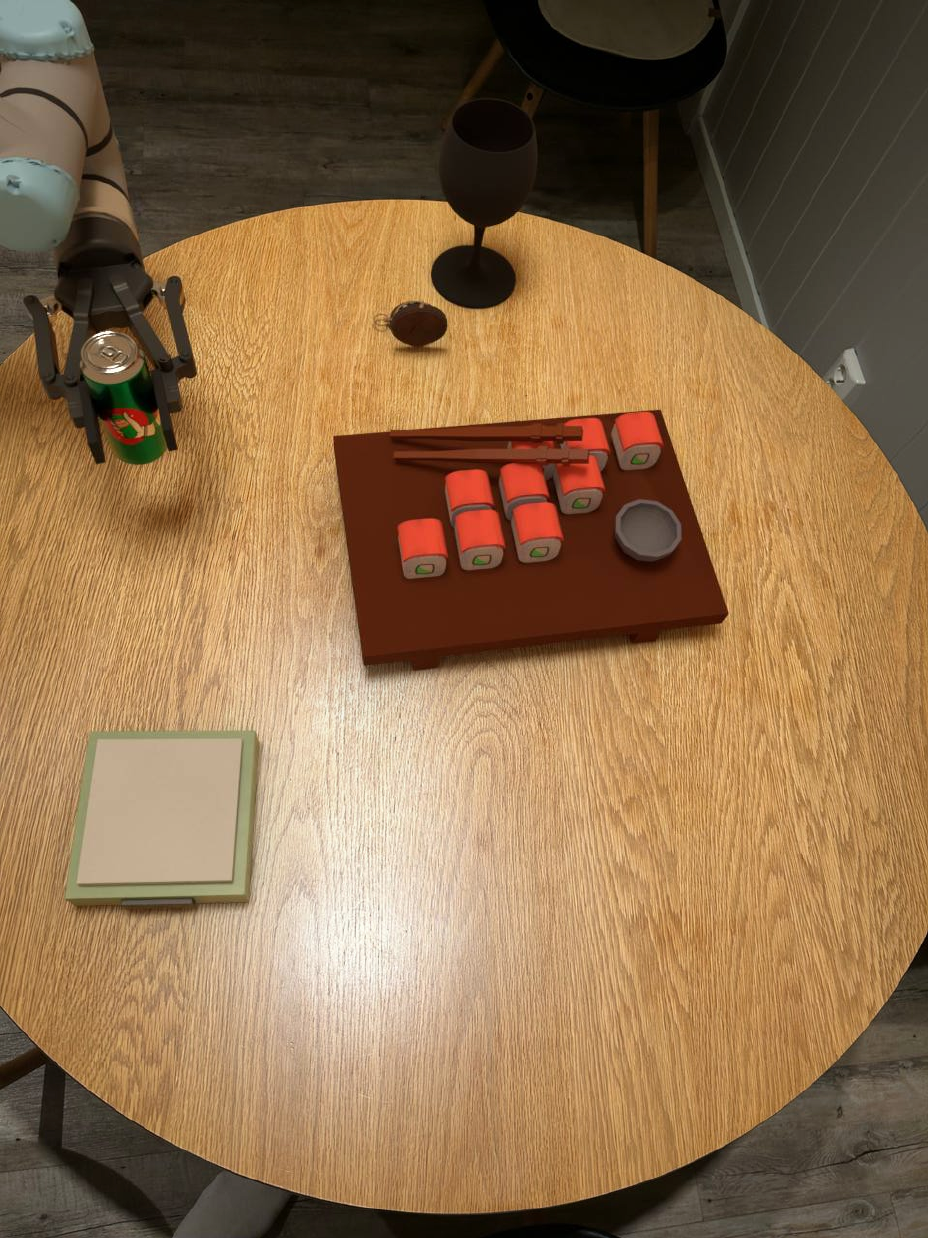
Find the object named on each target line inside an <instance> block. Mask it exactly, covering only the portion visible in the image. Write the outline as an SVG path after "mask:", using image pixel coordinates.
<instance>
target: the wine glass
mask: <svg viewBox="0 0 928 1238" xmlns="http://www.w3.org/2000/svg"><path fill="white" fill-rule="evenodd" d="M537 140H538V139H537V131H536V126H535V123H534V121H533V119H532V117H531V116H530V115H529V113H528V112H527V111H525V110H524V109H523V108H521V106H518V105H517V104H515V103H513V102H510V101H508V100H504V99H500V98H494V97H493V98H491V97H480V98H474V99H471V100H468V101H465V102H464V103H462V104H460V105H459V106H458V107H457V108H456V109H454V111H453V113H452V115H451V117H450V118H449V122H448V124H447V127H446V129H445V132H444V135H443V138H442V142H441V146H440V150H439V157H438V177H439V183H440V187H441V192H442V194H443V196H444V198H445V200H446V202H447V204H448V205H449V207H450V208H451V210H452V211H453V212H454V213H455V214H456V215H457V216H458V217H459V218H461V220H463V221H465V222H466V223H468V224H470V225H472V226H473V244H462V245H455V246H453V247H450V248H448V249H446V250H444V251H443V252H441V253H440V254H439V255H438V256H437V257H436V258H435V260H434V261H433V263H432V265H431V270H430V278H431V283H432V285H433V287H434V288H435V290H436V292H437V293H438V294H439V295H440V296H442V297H443V298H444V299H445V300H446V301H448V302H450V303H452V304H454V305H456V306H458V307H463V308H467V309H478V310H479V309H487V308H492V307H495V306H498V305H500V304H501V303H504V302H505V301H506V300H508V299H509V297H510V296H511V295H512V294H513V292H514V290H515V288H516V282H517V276H516V272H515V269H514V267H513V265H512V264H511V262H510V261H509V260H508V259H507V258H506V257H505V256H504V255H503V254H501V253H500V252H499V251H496V250H494V249H492V248H490V247H486V246H483V240H484V235H485V231H486V229H487V228H491V227H495V226H498V225H500V224H503V223H505V222H507V221H508V220H510V219H512V218H513V217H515V215H516V214H517V213H518V212H520V210H522V208H523V206H524V205H525V203H526V202H527V200H528V199H529V197H530V195H531V193H532V190H533V187H534V184H535V181H536V176H537V169H538V156H539V155H538V141H537Z"/></svg>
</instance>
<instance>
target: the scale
mask: <svg viewBox="0 0 928 1238" xmlns="http://www.w3.org/2000/svg"><path fill="white" fill-rule="evenodd" d="M259 747H260V741H259V738H258V734H257V731H256V730H150V731H149V730H130V731H129V730H126V731H125V730H123V731H122V730H120V731H119V730H113V731H111V730H110V731H107V730H106V731H104V730H103V731H102V730H101V731H99V730H98V731H89V732H88V739H87V746H86V753H85V758H84V766H83V770H82V771H83V772H82V778H81V786H80V792H79V799H78V804H77V812H76V818H75V825H74V832H73V839H72V845H71V851H70V858H69V864H68V870H67V877H66V885H65V892H64V897H63V899H64V900H65V901H67V902H68V903H70V904H71V905H73V906H74V907H80V906H81V907H83V906H84V907H85V906H87V907H88V906H120V907H122V908H123V909H124V910H155V909H157V910H158V909H159V910H160V909H194V908H196V905H197V904H214V903H215V902H217V903H218V902H221V903H249V902H250V891H251V875H252V862H253V861H252V859H253V843H254V828H255V813H256V812H255V811H256V796H257V781H258V767H259V766H258V765H259V752H260V751H259V749H260V748H259ZM215 904H216V903H215Z"/></svg>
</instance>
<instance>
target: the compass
mask: <svg viewBox="0 0 928 1238" xmlns="http://www.w3.org/2000/svg"><path fill="white" fill-rule="evenodd" d="M378 316H384V323H383V324H379V323H377V322H376V318H377V317H378ZM372 319H373V320H372V321H373V323H374V324H375V325H377V326H379V327H385V326H387V325H389V328H390V330H391V332H392V333H393V335H394V337H396V338H397V339H398V340H399V341H400V342H402V343H406V344H409V345H414V346H423V345H424V346H425V345H429V344H432V343H435V342H437V341H438V340H440V339H442V338H443V337H444V336H445V334H446V333H447V331H448V319H447V316H446V313H444V311H443V310H441V309H440V308H438V307H437V306H434V305H431V304H430V303H427V302H425V301H424V300H423V299H421V300H408V301H405V302H402V303H399V304H398V305H396V306H395V307H394V309H393V310H392V311H391V313H390V316H388V315H387V314H385V313H377V314H375V315H374V316H373V318H372Z"/></svg>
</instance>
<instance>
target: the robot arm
mask: <svg viewBox="0 0 928 1238" xmlns="http://www.w3.org/2000/svg"><path fill="white" fill-rule="evenodd" d="M94 51H95V46H94V44H93V43H92V40H91V38H90V35H89V32H88V29H87V26H86V23H85V20H84V17H83V15H82V12H81V11H80V9H79V8H78V7H77V6H76V4H75V3H74V2H72V1H71V0H0V69H1V71H0V246H2V247H3V248H6V249H9V250H12V251H16V252H19V253H27V254H38V253H44V252H48V251H51V250H52V251H53V258H54V263H55V271H56V276H57V277H56V278H57V282H56V283H57V284H56V285H55V287H54V288H53V294H51V295H49V296H46V297H44V298H41V299H39V298H38V296H36V295H34V294H29V295H26V296H25V297H24V298H23V300H22V302H23V305H24V307H25V309H26V312H27V314H28V316H29V319H30V321H31V323H32V325H33V335H34V343H35V344H34V345H35V352H36V353H35V354H36V362H37V370H38V377H39V380H40V382H41V384H42V387H43V389H44V391H45V393H46V395H47V398H48V399H49V400H51V401H57V400H60V399H62V398H64V399H66V403H67V404H66V405H67V409H68V415H69V418H70V420H71V422H72V424H73V426H74V427H75V429H77V430H79V429H85V430H84V431H85V436H86V442H87V445H88V448H89V451H90V453H91V455H92V458H93V460H94V462H95V464H96V465H100V464H106V463H107V461H106V456H105V450H104V443H103V438H102V437H103V436H102V432H101V426H100V419H99V417H98V414H97V411H96V409H95V406H94V404H93V401H92V399H91V396H90V393H89V391H88V388H87V386H86V383H85V381H84V378H83V375H82V373H81V370H80V366H79V361H80V357H81V349H82V346H83V345H84V343H85V342H86V341H87V340H88V339H89V338H90V337H92V336H94V335H96V334H98V333H101V332H106V331H109V330H110V329H126V328H128V330H129V331H130V333H131V335H132V336H133V338H134V339H136V341H137V343H138V345H139V346H140V347H141V349H142V350H143V352H144V354H145V357H147V359H148V361H149V363H150V364H151V366H152V367H153V369H149V371H150V375H151V378H152V382H153V387H154V392H155V397H156V401H157V406H158V411H159V416H160V421H161V426H162V431H163V434H164V438H165V441H166V444H167V450H168V452H174V451H178V449H179V448H178V444H177V439H176V435H175V429H174V425H173V420H172V415H171V414H177V413H181V412H182V411H183V408H184V405H183V400H182V397H181V396H182V395H181V392H180V387H179V383H180V381H182V380H183V379H185V378H186V379H189V380H190V379H194V378H196V377H197V375H198V369H197V365H196V362H195V356H194V352H193V349H192V345H191V341H190V337H189V332H188V329H187V325H186V322H185V317H184V311H185V306H186V296H185V291H184V286H183V282H182V278H181V277H180V276H179V275H171V276H169V277H167V280H166V281H157V280H155V281H154V280H153V278H152V276H151V275H150V274H148V272H146V269H145V268H146V267H145V263H144V259H143V254H142V249H141V244H140V239H139V235H138V231H137V225H136V221H135V216H134V212H133V211H134V210H133V207H132V204H131V201H130V197H129V192H128V185H127V179H126V173H125V164H124V160H123V159H124V158H123V154H122V150H121V146H120V143H119V141H118V139H117V137H116V135H115V130H114V127H113V124H112V121H111V117H110V114H109V109H108V105H107V101H106V97H105V93H104V89H103V85H102V80H101V78H100V74H99V68H98V65H97V61H96V57H95V53H94ZM154 298H156V299H158V302H159V305H160V306H162V308H163V307H164V310H165V311H166V312H167V314H168V320H169V323H170V327H171V330H172V336H173V339H174V343H175V347H176V352H177V355H176V356H174V357H172V355H171V354H170V353H168V351H167V350H166V348H165V346H164V345H163V343H162V342H161V340H160V339H159V337H158V335H157V333H156V332H155V330H154V329H153V326H152V325H151V324H150V322H149V321H148V319H147V318H146V317H147V316H146V315H145V314H144V312H145V311H146V309H147V308H148V307H149V305H150V304H151V302H152V301H153V300H154ZM60 311H61V312H63V313H65V314H66V315H67V316H69V317H71V319H73V326H72V330H71V335H70V340H69V345H68V349H67V355H66V360H65V363H64V369H63V374H61V369H60V361H59V355H58V354H59V353H58V345H57V337H56V332H55V330H54V328H55V326H56V325H57V320H58V312H60ZM53 327H54V328H53ZM182 413H183V412H182Z"/></svg>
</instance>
